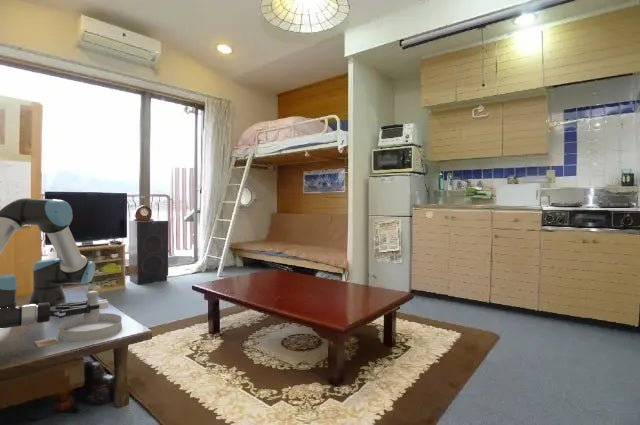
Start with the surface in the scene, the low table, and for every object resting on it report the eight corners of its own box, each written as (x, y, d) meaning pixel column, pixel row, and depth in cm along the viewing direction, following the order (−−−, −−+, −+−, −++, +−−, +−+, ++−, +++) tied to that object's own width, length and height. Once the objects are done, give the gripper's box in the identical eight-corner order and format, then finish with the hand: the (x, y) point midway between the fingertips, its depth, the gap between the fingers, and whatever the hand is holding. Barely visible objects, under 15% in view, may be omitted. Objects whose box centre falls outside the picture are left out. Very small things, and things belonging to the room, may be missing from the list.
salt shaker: (96, 318, 147) (97, 288, 146) (102, 321, 143) (103, 291, 143) (81, 322, 142) (81, 291, 142) (86, 325, 139) (87, 294, 138)
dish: (90, 321, 156) (90, 311, 156) (133, 326, 152) (133, 315, 152) (44, 340, 134) (44, 328, 134) (93, 346, 130) (93, 334, 130)
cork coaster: (34, 343, 129) (34, 341, 129) (54, 338, 134) (54, 337, 133) (38, 347, 125) (38, 346, 125) (58, 343, 130) (58, 341, 130)
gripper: (36, 317, 137) (104, 307, 152) (36, 329, 125) (110, 317, 140) (36, 298, 137) (104, 291, 152) (37, 309, 125) (111, 299, 140)
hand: (107, 303), depth 146 cm, fingers closed on salt shaker, 3 cm apart
